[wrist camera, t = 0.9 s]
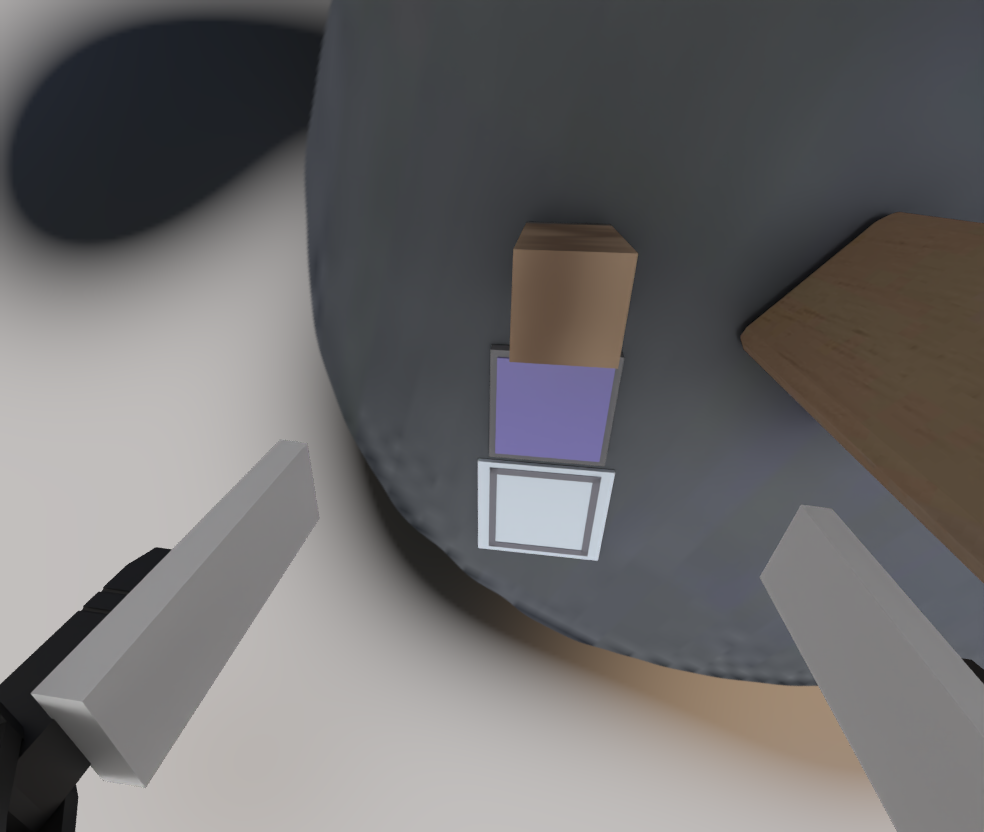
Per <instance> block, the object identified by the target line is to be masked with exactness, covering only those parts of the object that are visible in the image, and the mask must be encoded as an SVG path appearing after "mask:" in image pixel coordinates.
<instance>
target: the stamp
mask: <svg viewBox="0 0 984 832" xmlns="http://www.w3.org/2000/svg"><path fill="white" fill-rule="evenodd" d="M637 258H638V253H637V252H636V251H635V250H634V249H633V248H632V246H631V245H630V244H629V243H628V242H627V241H626V240H625V239H624V238H623V237H622V236H621V235H620V234H619V233H618V232H617V231H616V230H615V229H614V228H613V226H612V225H611V224H586V223H551V222H526V224H525V226H524V228H523V230H522V232H521V234H520V237H519V239H518V241H517V243H516V245H515V247H514V249H513V271H512V299H511V326H510V354H509V362H517V363H533V364H549V365H566V366H582V367H598V368H614V369H618V366H619V361H620V355H621V349H622V344H623V338H624V332H625V326H626V321H627V315H628V309H629V304H630V298H631V292H632V287H633V281H634V275H635V269H636V264H637Z"/></svg>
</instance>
